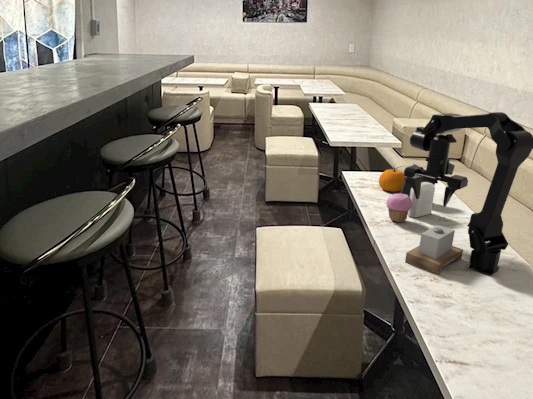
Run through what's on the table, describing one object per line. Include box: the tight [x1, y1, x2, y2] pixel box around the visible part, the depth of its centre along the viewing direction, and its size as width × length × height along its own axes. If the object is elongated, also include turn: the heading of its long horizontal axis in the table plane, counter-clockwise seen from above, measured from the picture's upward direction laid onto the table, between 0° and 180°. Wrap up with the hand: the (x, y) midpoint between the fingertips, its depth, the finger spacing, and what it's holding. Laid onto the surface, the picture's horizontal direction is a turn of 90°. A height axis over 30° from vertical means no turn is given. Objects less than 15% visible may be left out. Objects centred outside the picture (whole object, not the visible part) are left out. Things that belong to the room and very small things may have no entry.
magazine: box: [399, 163, 439, 197], centre depth 185 cm, size 4×13×15 cm, turn 82°
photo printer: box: [407, 182, 436, 218], centre depth 171 cm, size 10×4×12 cm, turn 123°
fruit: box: [378, 166, 406, 193], centre depth 199 cm, size 12×12×10 cm
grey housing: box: [418, 224, 456, 259], centre depth 135 cm, size 10×5×7 cm, turn 135°
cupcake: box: [385, 193, 413, 223], centre depth 164 cm, size 9×9×10 cm
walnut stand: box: [405, 244, 464, 275], centre depth 136 cm, size 10×15×3 cm, turn 135°
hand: (430, 202), depth 149 cm, fingers open, 9 cm apart
